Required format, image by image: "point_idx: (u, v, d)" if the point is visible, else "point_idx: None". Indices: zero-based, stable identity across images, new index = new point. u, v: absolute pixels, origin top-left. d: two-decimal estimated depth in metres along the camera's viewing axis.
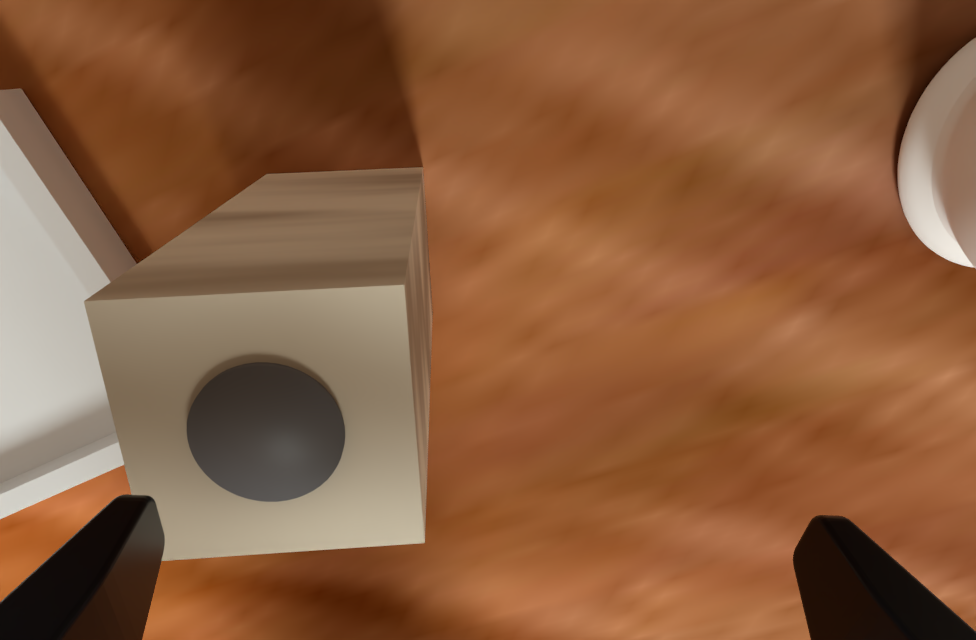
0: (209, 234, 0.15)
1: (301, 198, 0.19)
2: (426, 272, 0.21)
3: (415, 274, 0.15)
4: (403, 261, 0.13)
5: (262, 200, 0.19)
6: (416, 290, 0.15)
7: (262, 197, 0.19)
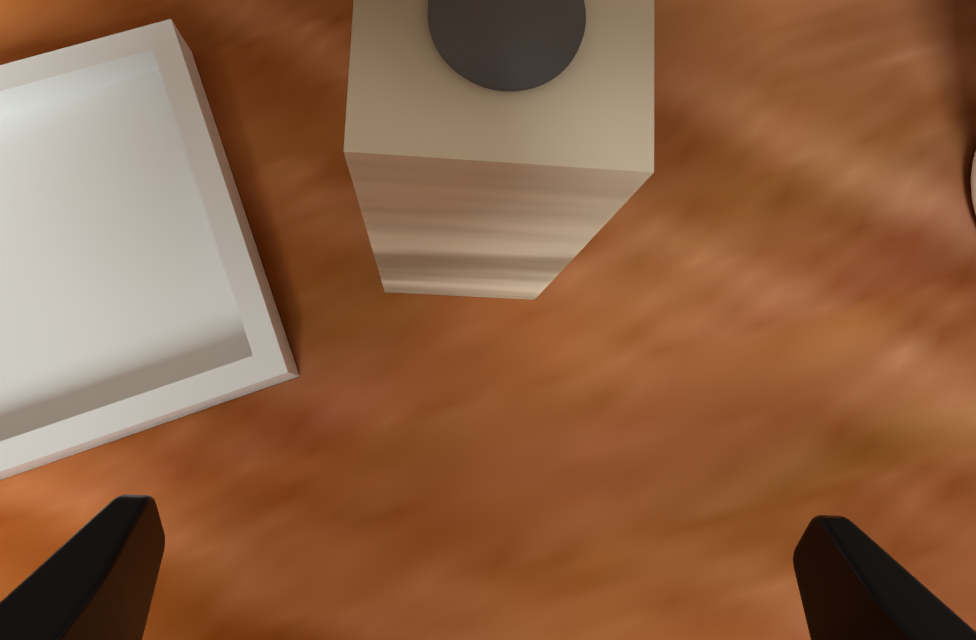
0: None
1: None
2: None
3: None
4: None
5: None
6: None
7: None
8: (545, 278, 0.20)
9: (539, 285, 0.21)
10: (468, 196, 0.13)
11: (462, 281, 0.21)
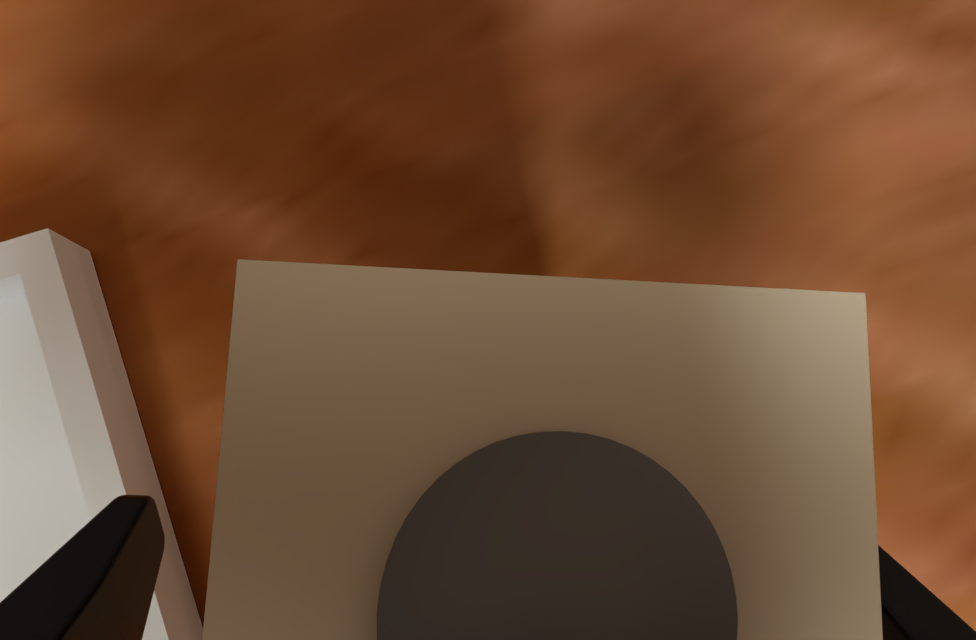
0: None
1: None
2: None
3: None
4: None
5: None
6: None
7: None
8: None
9: None
10: None
11: None
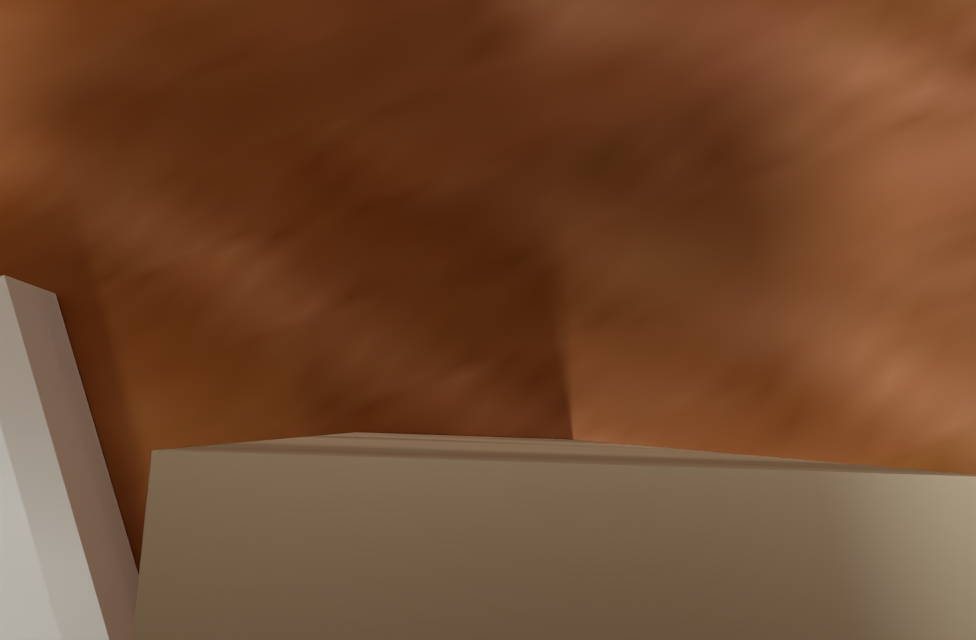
0: (351, 439, 0.08)
1: (449, 438, 0.12)
2: None
3: None
4: (856, 464, 0.06)
5: (388, 436, 0.12)
6: None
7: None
8: None
9: None
10: None
11: None
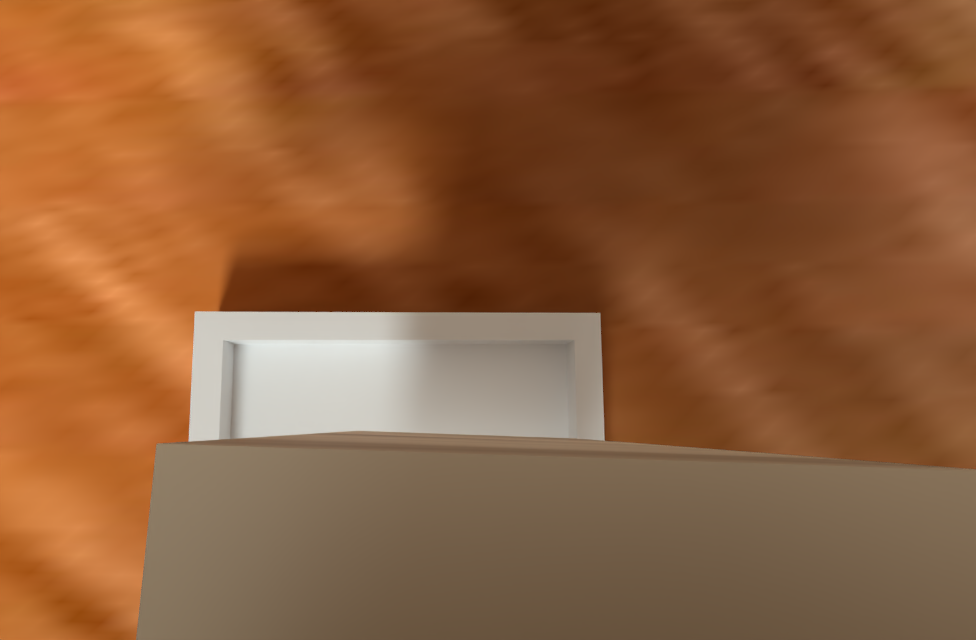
0: None
1: (450, 436, 0.12)
2: None
3: None
4: (858, 460, 0.06)
5: None
6: None
7: None
8: None
9: None
10: None
11: None
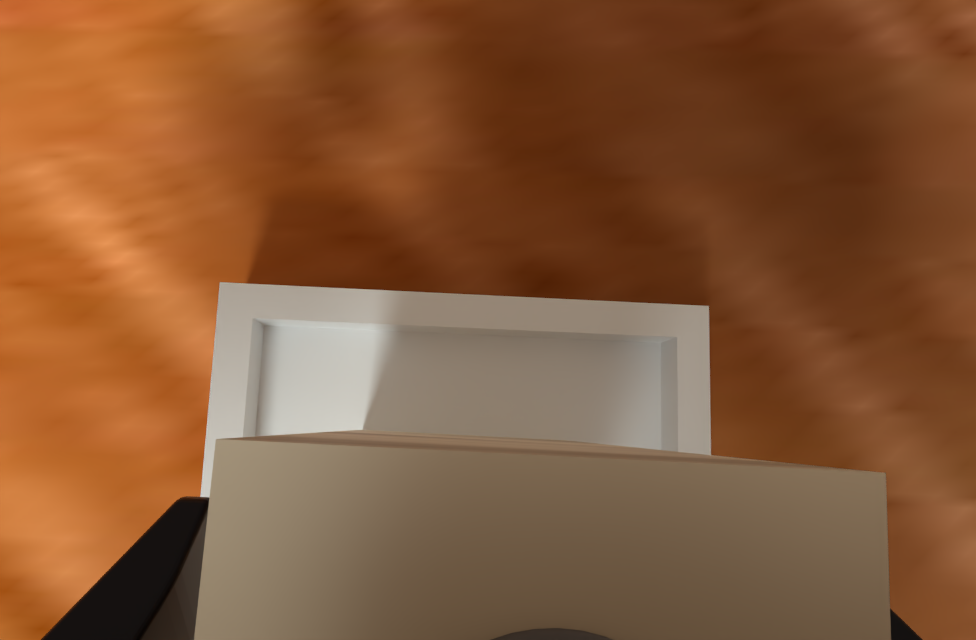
0: (361, 435, 0.09)
1: (447, 436, 0.13)
2: None
3: None
4: (785, 463, 0.07)
5: (393, 433, 0.13)
6: None
7: None
8: None
9: None
10: None
11: None
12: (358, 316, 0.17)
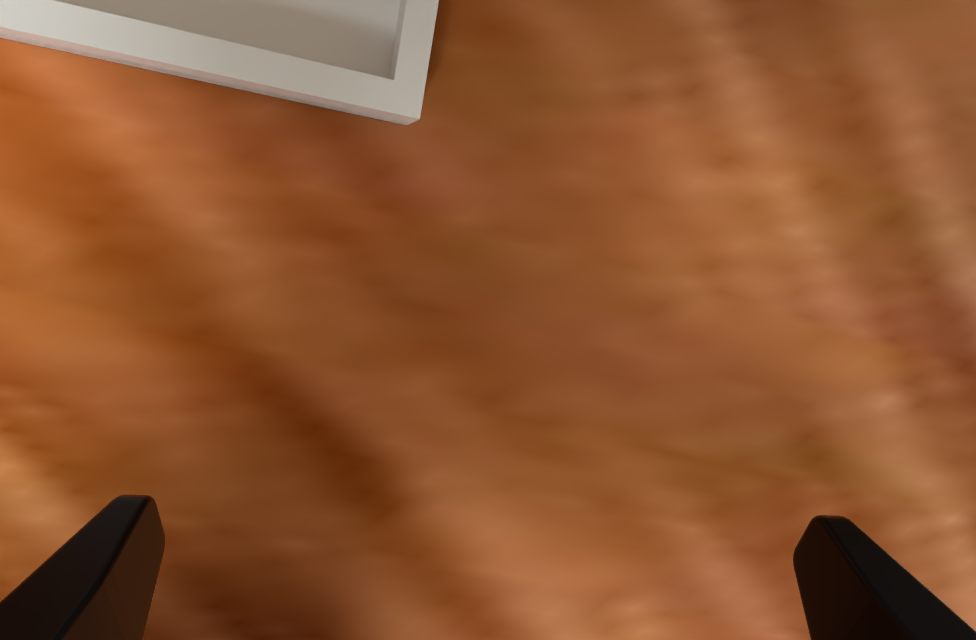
0: None
1: None
2: None
3: None
4: None
5: None
6: None
7: None
8: None
9: None
10: None
11: None
12: None
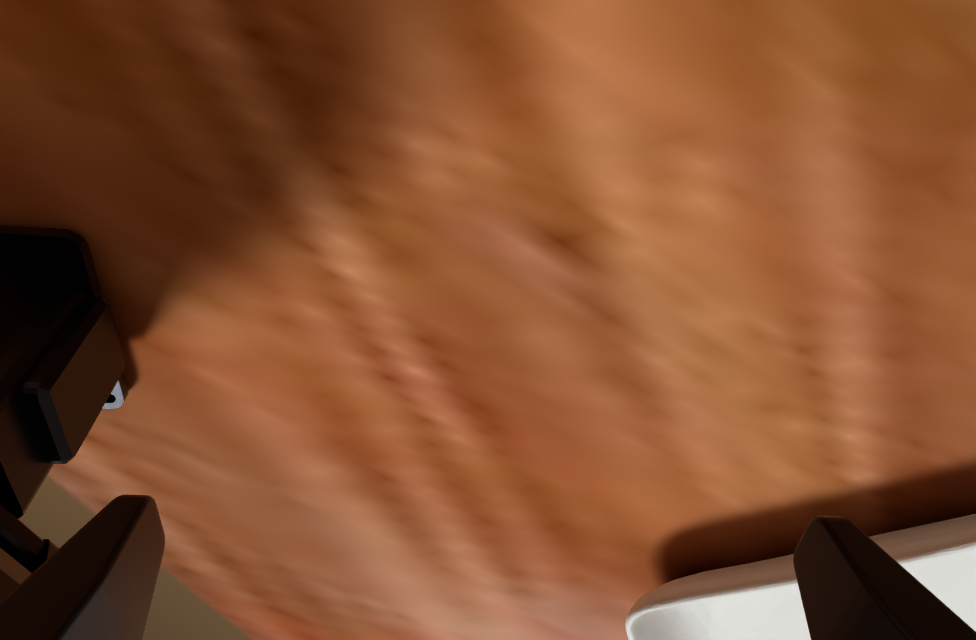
0: None
1: None
2: None
3: None
4: None
5: None
6: None
7: None
8: None
9: None
10: None
11: None
12: None
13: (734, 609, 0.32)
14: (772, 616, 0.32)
